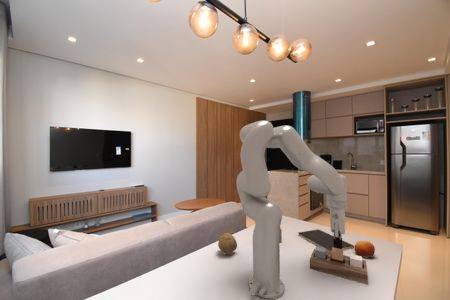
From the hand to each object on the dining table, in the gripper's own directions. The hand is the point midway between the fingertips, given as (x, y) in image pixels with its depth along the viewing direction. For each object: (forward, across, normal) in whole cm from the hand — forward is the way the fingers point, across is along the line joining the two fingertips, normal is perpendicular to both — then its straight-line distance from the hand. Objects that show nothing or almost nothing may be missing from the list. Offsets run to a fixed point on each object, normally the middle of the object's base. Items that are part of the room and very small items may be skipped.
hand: (337, 247), depth 85 cm
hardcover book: (+10, +26, +8) cm, 29 cm away
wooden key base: (+9, 0, 0) cm, 9 cm away
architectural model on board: (+9, +8, +32) cm, 34 cm away
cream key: (+5, 0, -6) cm, 8 cm away
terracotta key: (+4, 0, 0) cm, 4 cm away
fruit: (+9, +19, -10) cm, 23 cm away
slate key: (+5, 0, +7) cm, 9 cm away
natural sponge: (+8, -14, +46) cm, 49 cm away
